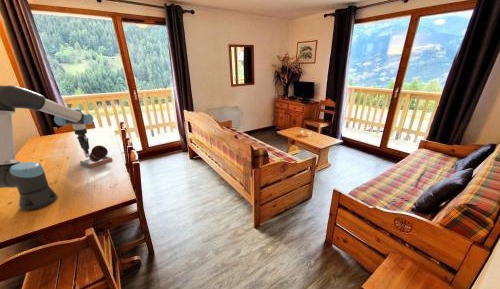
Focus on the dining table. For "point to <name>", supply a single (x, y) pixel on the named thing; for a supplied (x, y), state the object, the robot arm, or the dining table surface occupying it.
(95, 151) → the coffee cup
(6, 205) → the dining table surface
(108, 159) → the keeper tray
